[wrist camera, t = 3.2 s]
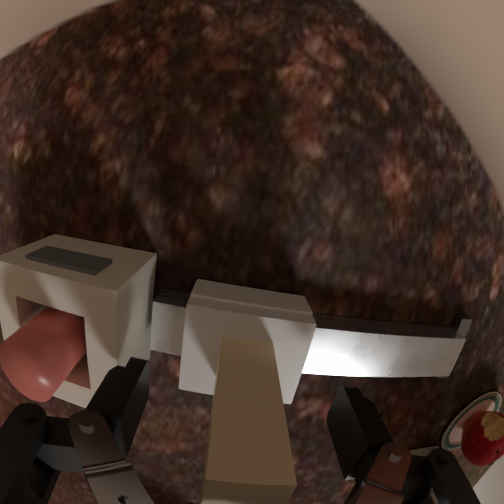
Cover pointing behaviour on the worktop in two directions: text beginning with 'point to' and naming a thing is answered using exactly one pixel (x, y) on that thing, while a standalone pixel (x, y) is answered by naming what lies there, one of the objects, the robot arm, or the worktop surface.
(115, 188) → the worktop surface
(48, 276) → the cream square box
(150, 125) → the worktop surface
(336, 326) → the rail
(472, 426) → the apple
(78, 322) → the button
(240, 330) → the carriage
